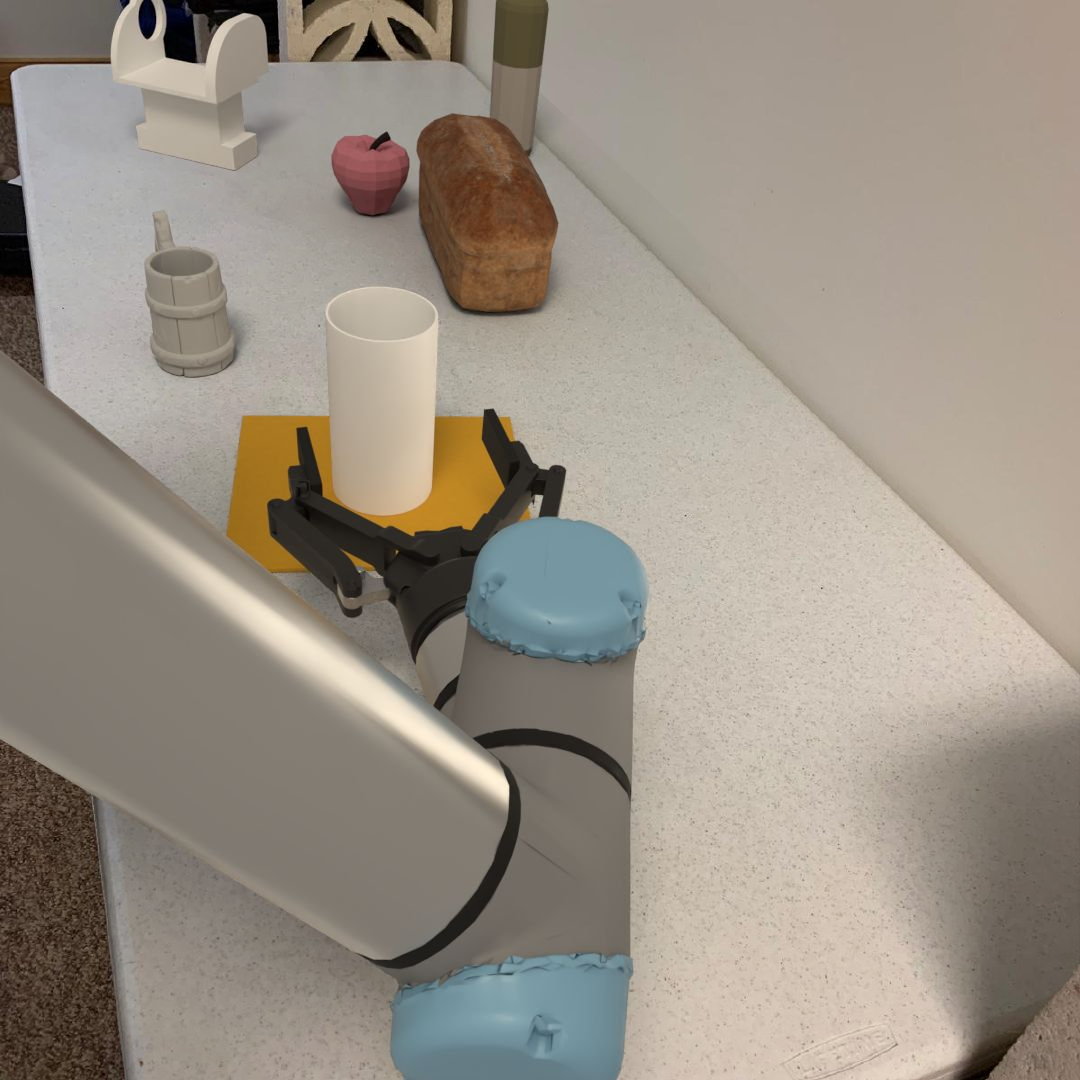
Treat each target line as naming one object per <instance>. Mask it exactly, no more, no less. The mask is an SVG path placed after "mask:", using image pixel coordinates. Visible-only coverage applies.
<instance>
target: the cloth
mask: <svg viewBox="0 0 1080 1080" xmlns="http://www.w3.org/2000/svg"><path fill="white" fill-rule="evenodd" d="M498 418H499V420H500V422H501V424H502V426H503V428H504V430H505V432H506V434H507V436H508V438H509V440H510V441H516V439H515V436H514V431H513V426H512V421H511V417H510V416H498ZM299 427H307V428H308V432H309V435H310V439H311V443H312V447H313V450H314V454H315V458H316V462H317V465H318V469H319V473H320V477H321V481H322V487H323V497H325V498H327V499H329V500H331V501H333V502H335V503H337V504H339V505H341V506H343V507H345V508H346V509H348V510H350V511H352V512H354V513H356V514H358V515H360V516H362V517H364V518H366V519H368V520H370V521H372V522H374V523H376V524H378V525H380V526H382V527H384V528H386V527H388V526H390V525H391V526H394V527H396V528H398V529H399V530H401V531H403V532H405V533H407V534H409V535H411V536H414V533H415V532H417V531H425V530H431V531H440V530H443V529H446V528H449V527H455V526H462V527H463V529H468V530H472V529H473V527H474V526H475V525H476V523H477V522H478V521H479V519H480V518H481V516H482V515H483V514H484V513H488V512H489V511H490V509H491V508H492V506H493V505H494V504H495V502H496V501H497V499H498V498H499V497H500V495H501V494H502V493H503V491H504V490H505V488H504V486H503V484H502V482H501V479H500V477H499V475H498V473H497V471H496V469H495V467H494V465H493V462H492V460H491V458H490V456H489V454H488V452H487V450H486V448H485V445H484V443H483V441H482V427H483V416H442V415H441V416H439V415H437V416H436V415H435V424H434V449H433V474H432V490H431V493H430V495H429V497H428V498H427V499H426V501H425V502H423V503H422V504H421V505H420V506H418V507H417V508H415V509H413V510H411V511H408V512H405V513H402V514H397V515H389V516H377V515H369V514H364V513H361V512H358V511H355V510H353V509H351V508H349V507H347V506H346V505H344V504H343V503H342V502H341V501H340V500H339V499H338V498H337V497H336V495H335V493H334V490H333V483H332V461H331V438H330V416H329V415H262V414H261V415H253V414H252V415H245V414H243V415H242V420H241V427H240V434H239V442H238V449H237V456H236V462H235V463H236V464H235V471H234V476H233V477H234V478H233V484H232V485H233V486H232V492H231V499H230V507H229V514H228V521H227V527H226V528H227V529H226V534H225V535H226V536H227V537H228V538H229V539H231V540H232V541H233V542H234V543H236V544H237V545H238V546H239V547H240V548H242V549H243V550H244V551H245V552H246V553H248V554H249V555H250V556H251V557H253V558H254V559H255V560H256V561H257V562H259V563H260V564H261V565H262V566H263V567H265V568H266V569H267V570H268V571H270V572H271V573H301V572H302V573H303V572H306V573H307V572H308V573H311V572H310V571H309V570H307V569H306V568H305V567H304V566H303V565H302V564H301V563H300V562H299V561H298V560H297V559H295V558H294V557H293V556H292V555H291V554H290V553H289V552H288V551H287V550H286V549H284V548H283V547H282V546H281V545H280V544H279V543H278V542H277V541H276V540H275V539H274V538H272V537H271V535H270V531H269V521H268V510H267V503H268V501H270V500H272V499H276V498H279V499H283V500H284V501H286V500H288V499H290V498H291V494H290V490H289V482H288V469H289V466H295V465H300V463H299V459H298V446H297V431H296V428H299ZM527 519H532V518H531V513H530V509H529V507H528V508H527V509H526V511H525V512H524V514H523V515H522V517H521V518H520V520H519V521H518V522H520V521H524V520H527ZM339 549H340V548H339ZM342 551H343V550H342ZM343 552H344V553H345V554H346V555H347V556H348V557H349V558H350V559H351V560H352V562H353V563H354V565H355V567H357V566H363V567H364V568H365V571H376V570H375V568H374V567H373V566H372V565H370V564H368V563H366V562H364V561H362V560H360V559H358V558H357V557H355V556H353V555H351V554H349V553H347V552H345V551H343ZM397 553H398V551H397V550H396V554H397Z"/></svg>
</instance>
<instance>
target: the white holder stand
mask: <svg viewBox="0 0 1080 1080" xmlns="http://www.w3.org/2000/svg"><path fill="white" fill-rule="evenodd" d="M143 1H144V0H129V3H128V4H127V5H126V6H125V7H124V8H123V10H122V11H121V13H120V14H119V16H118V18H117V20H116V23H115V26H114V28H113V34H112V37H111V43H110V44H111V45H110V66H111V73H112V80H113V82H114V83H118V84H123V85H126V86H127V85H128V86H130V87H131V86H132V87H136V88H140V90H141V96H142V97H141V98H142V103H143V109H144V116H145V117H144V118H145V121H143V122H141V123H139V124H137V125H136V126H135V129H136V135H137V139H138V140H137V142H138V148H139V149H140V150H144V151H149V152H153V153H158V154H162V155H166V156H171V157H176V158H180V159H184V160H188V161H193V162H196V163H201V164H204V165H209V166H213V167H218V168H222V169H227V170H231V171H236V170H239V168H241V167H243V166H244V165H246V164H247V163H249V162H250V161H253V159H255V158H257V157H259V151H258V140H257V133H254V132H250V131H246V128H245V119H244V108H243V107H244V106H243V97H242V96H243V95H242V92H243V91H244V90H247V89H248V88H250V87H253V86H254V85H256V84H258V83H259V78H260V77H262V76H264V75H266V74H268V73H269V72H270V70H269V69H270V68H269V57H268V55H269V53H268V43H267V42H268V41H267V31H266V26H265V24H264V22H263V20H262V18H261V17H260V16H258V15H256V14H252V13H246V12H243V13H240V14H237V15H236V16H233V17H232V18H228V19H227V20H224V21H223V23H222V24H220V26H219V27H218V29H217V30H216V31H215V33H214V34H213V37H212V39H211V42H210V45H209V47H208V51H207V55H206V59H205V65H201V64H197V63H192V62H188V61H183V60H178V59H174V58H169V57H166V51H165V43H164V36H165V34H166V28H167V13H166V12H167V11H166V7H165V4H164V1H163V0H151V2H152V4H153V6H154V9H155V16H156V24H155V28H154V31H153V34H152V35H151V36H150V37H149V38H146V37H145V36H144V35H143V33H142V30H141V27H140V22H139V21H140V20H139V11H140V8H141V5H142V3H143Z"/></svg>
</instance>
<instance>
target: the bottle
mask: <svg viewBox="0 0 1080 1080" xmlns="http://www.w3.org/2000/svg"><path fill="white" fill-rule="evenodd" d="M549 10H550V9H549V1H548V0H495V9H494V26H493V27H494V29H493V47H492V67H491V83H490V84H491V86H490V88H491V89H490V107H489V118H494V119H497V120H498V121H499V122H501V123H502V124H504V125H505V126H507V127H508V128H509V129H510V130H511V132H512V133H513V134H514V136H515V137H516V139H517V140H518V141H519V142H520V144H521V146H522V147H523V149H524V150H525V152H526V154H527V155H528V156H529V155H530V154H531V153H532V149H533V146H534V138H535V129H536V120H537V113H538V104H539V96H540V88H541V87H540V86H541V79H542V70H543V63H544V62H543V61H544V54H545V53H544V52H545V44H546V37H547V27H548V18H549Z"/></svg>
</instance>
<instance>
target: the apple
mask: <svg viewBox="0 0 1080 1080" xmlns="http://www.w3.org/2000/svg"><path fill="white" fill-rule="evenodd" d="M410 160H411V159H410V157H409V154H408V151H407V149H406V147H405V148H404V147H403V146H401V145H400V144H398V143H396V142H395V141H394V140H392V137H391V136H390V134H389V131H388V130H387V131H385V132H383V133H381V134H380V135H379V136H378V137H373V136H371V135H368V134H361V135H344V136H343V137H342V138H340V139H338V140H337V141H336V143H335V146H334V147H333V151H332V153H331V162H330V163H331V169H332V172H333V176H334V178H335V179H336V181H337V182H338V184H339V186H340V187H341V189H342V191H343V192H344V194H345V195H346V196H347V198H348V200H349V201H350V203H351V205H352V206H353V208H354V209H355V210H356V211H357V212H358V214H359V213H360V214H363V215H369V216H375V215H377V214H379V215H380V214H385V213H387V212H389V211H390V209H392V206H393V204H394V203H395V201H396V199H397V196H398V195H399V193H400V192H401V190H402V189H403V187H404V185H406V183H407V180H408V176H409V172H410V167H411V166H410V165H411V163H410V162H411V161H410Z"/></svg>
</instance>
